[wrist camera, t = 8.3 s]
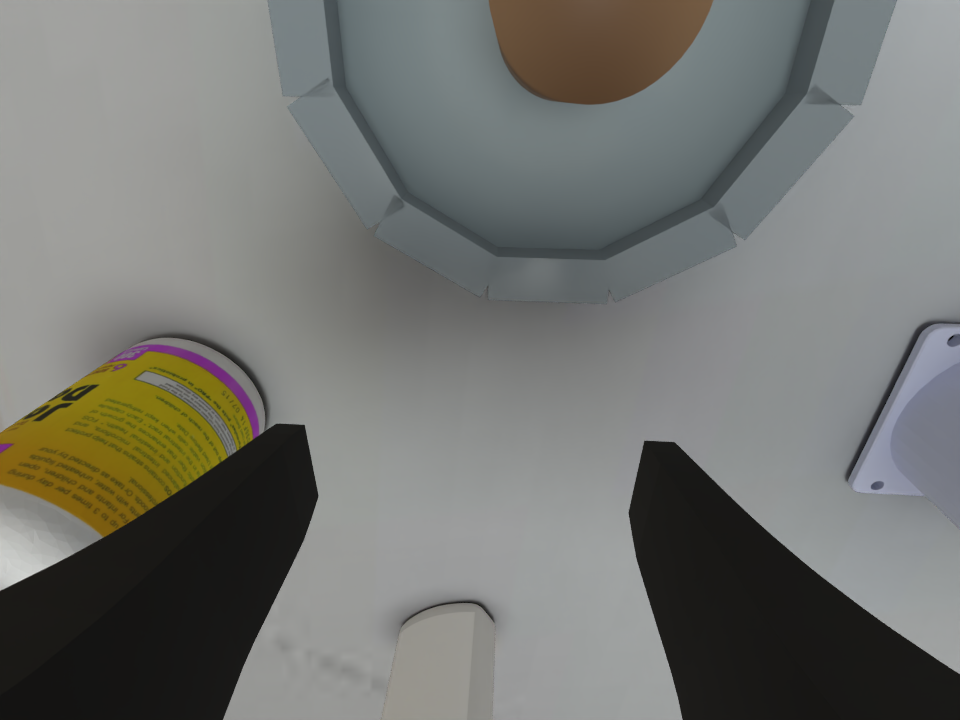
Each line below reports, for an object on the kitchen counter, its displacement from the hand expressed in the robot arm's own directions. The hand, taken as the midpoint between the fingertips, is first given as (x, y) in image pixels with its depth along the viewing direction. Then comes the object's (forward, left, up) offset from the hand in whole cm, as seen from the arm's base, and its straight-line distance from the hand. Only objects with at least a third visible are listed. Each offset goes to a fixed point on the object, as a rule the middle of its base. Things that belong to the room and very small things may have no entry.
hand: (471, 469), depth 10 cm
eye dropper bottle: (+2, +20, -10) cm, 22 cm away
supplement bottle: (+13, +5, -10) cm, 17 cm away
